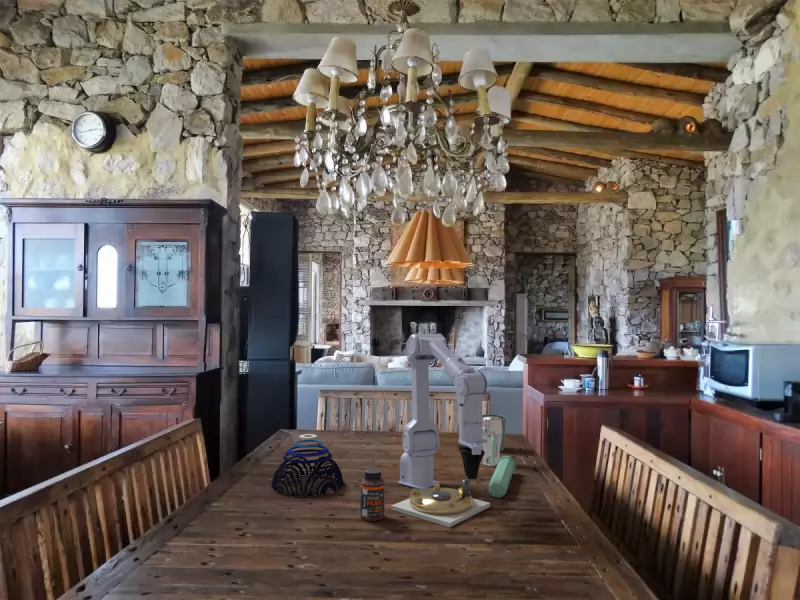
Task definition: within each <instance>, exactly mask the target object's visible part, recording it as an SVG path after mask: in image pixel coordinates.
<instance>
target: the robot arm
mask: <svg viewBox="0 0 800 600" xmlns="http://www.w3.org/2000/svg"><path fill="white" fill-rule="evenodd" d="M446 340H447V339H446V337H444V335H443V334H442V333H431V334H429V333H428V334H426V333H425V334H423V333H422V334H416V333H412V334H411V335H410V336H409V337H408V339H407V340H406V341H407V342H406V358H407V360H406V361H407V362H408V363H410V365H411V366H410V368H411V369H410V370H411V371H410V372H411V408H412V409H411V411H412V412H411V413H412V417H411V418H412V419H411V420H410V421H409V422H408V423H406V424H405V425H404V426H403V432H402V433H403V434H402V438H401V444H402V449H403V450H404V452H403V453H402V454H401V456H400V460H399V481H398V482H397V483H398V484H399V485H403V486H407V487H410V488H414V489H419V490H421V489H426V488H433V487H434V484H439V485H440V481H438V480H434V455H436V452H437V451H438V449H439V447H440V442H441V441H440V440H441V439H440V436H439V435H440V434H439V431H438V425H436V423H435V422H433V421H431V419H430V416H431V415H430V387H429V386H430V381H429V380H430V379H429V376H430V375H429V366H430V364H431V363H432V362H434V361H436V360H438V362H440V363H441V364H442V365H443V371H444V373H445V375H446V376H447V377H448V378H449V379H450V380H451V381H452V382H453V384H454V385H453V386H454V391H455V393H456V401H457V403H458V405H459V406H458V408H459V409H458V412H459V413H458V414H459V417H458V420H459V422H458V424H459V425H458V429H459V431H458V434H459V435H458V436H459V438H458V444H460V445H458V446H457V448H458V451H459V453H460V456H461V459H462V463H463V464H462V465H463V469H464V473H465V476H467V477H466V478H467V479H470V480H477V479H478V474H479V471H480V470H479V469H480V466H481V465H480V464H481V462H482V461H483V456H484V454H485V452H484V451H483V450H481V446H482V445H483V443H487V439H485V438H483V415H484V414H483V396H484V395H485V394H486V393H487V390H488V380H487V377H486V375H485V373H483V372H484V371H483V372H482V371H477V370H474V369H472V367H471V366H470V365H469V364H467V362H466V361H465V360H464V358H463V357H462V355H461V356H457V355H455V356H454V355H453V353H452V352H451V351H450V349H449V348H448V346H447V341H446Z"/></svg>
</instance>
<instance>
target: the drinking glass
mask: <svg viewBox="0 0 800 600" xmlns="http://www.w3.org/2000/svg"><path fill="white" fill-rule="evenodd" d="M488 416H491V417H499V418H501V422H502V439H501V445H500V451H501V452H504V450H505V436H506V435H505V433H506V420H507V418H506V416H505V415H502V414H494V413H489V414H487V413H486V414H483V417H488ZM481 450H483V445H482V446H481Z"/></svg>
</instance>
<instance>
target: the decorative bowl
mask: <svg viewBox="0 0 800 600" xmlns="http://www.w3.org/2000/svg"><path fill="white" fill-rule="evenodd" d="M317 437H318V435H317V434H314V433H313V434H312V433H306V434H300V435H298V438H299V439H302V440H297V441H295V442H293V444H292V445H293V446H292V447H290V448H289V449H287V450H286V453H284V455H283V457H282V460H283V461H282V463H281V464H280V465H279V466H278V467H277V469H276V471H275V472H274V474H273V476H272V478H271V479H272V481H271V489H272V488H273V489H274V491H277V492H278V490H280V493H281V494H285V491H286V494H285V495H289V497H291V496H313V497H314V495H320V496H322V495H321V494H325V495H327V494H326V493H328V492H327V491H328V490H329V489H331V490H332V491H335V492H337V491H338V489H339V490H341V488H342V487H343V486H344V480H343V474H342V472H341V468H340V467H339V465H338V463H337V462H336V461H335V460H334V459H333V454H332V453H331V452H330V451H329V448H328V447H327V446H325V445H324V443H323V441H321V440H319V439H315V438H317ZM305 442H306V443H307V442H314V444H300V443H305ZM315 442H316V443H315ZM301 448H302V449H301ZM316 448H319V449H316ZM326 454H328V455H326ZM323 455H325V456H323ZM288 456H289V457H288ZM318 456H319V457H318ZM311 457H312V458H313V457H318V458H315V459H308V458H311ZM312 464H313V465H312ZM301 465H302V466H301ZM304 470H305V471H304ZM301 475H310V476H307V479H306V480H305V481H306V482H304V485H303V482H302V479H301ZM314 475H318V476H314ZM322 475H324V476H322ZM294 476H295V477H294ZM328 476H329V477H328ZM324 478H325V479H324ZM334 478H335V479H334ZM281 479H286V481H287V482H285V480H281ZM312 479H313V480H312ZM336 479H337V480H336ZM290 480H291V481H292V483H293V486H294V488H293V486H292V483H291V481H290ZM328 480H329V481H328ZM326 481H327V482H326ZM278 482H279V483H282V484H283V486H282V485H280V484H278ZM310 483H311V484H310ZM309 485H310V487H309ZM284 487H285V489H284ZM288 487H289V488H288ZM308 487H309V488H308ZM294 489H295V490H294ZM289 490H290V491H289ZM336 490H337V491H336ZM274 491H273V492H274ZM299 492H300V493H299ZM290 493H291V494H290Z"/></svg>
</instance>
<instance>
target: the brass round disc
mask: <svg viewBox="0 0 800 600" xmlns="http://www.w3.org/2000/svg"><path fill="white" fill-rule="evenodd" d="M409 498H410V505H411V507H412V508H414V509H416V510H418V511H421V512H424V513H429V514H437V515H451V514H458V513H462V512H465V511H468V510H469V509H471V508H472V506H473V499H474V498H473V496H472V495H471V479H468V478H462V482H461V487H458V488H451V487H441V485H440V483H439V484H434V486H433V487H429V488H426V489H418V488H414V487H412V489H411V493H410V494H409Z"/></svg>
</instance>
